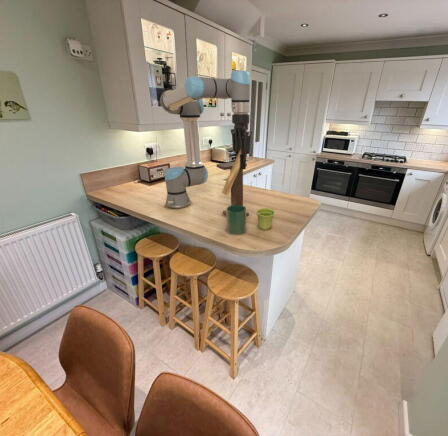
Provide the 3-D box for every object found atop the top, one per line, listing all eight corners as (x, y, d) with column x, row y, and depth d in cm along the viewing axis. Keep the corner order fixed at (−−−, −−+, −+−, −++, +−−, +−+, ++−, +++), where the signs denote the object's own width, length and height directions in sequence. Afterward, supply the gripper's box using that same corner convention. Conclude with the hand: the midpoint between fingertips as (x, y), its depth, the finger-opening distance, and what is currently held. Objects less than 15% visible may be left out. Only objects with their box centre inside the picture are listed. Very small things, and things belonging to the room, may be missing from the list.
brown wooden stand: (217, 214, 136) (215, 163, 123) (238, 209, 144) (237, 160, 131) (227, 221, 128) (225, 167, 115) (248, 215, 136) (249, 164, 123)
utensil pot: (223, 228, 121) (222, 207, 116) (239, 223, 126) (238, 203, 121) (233, 236, 114) (233, 214, 109) (249, 231, 119) (249, 209, 114)
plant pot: (272, 222, 127) (273, 208, 123) (275, 231, 119) (276, 215, 115) (255, 223, 127) (255, 208, 123) (256, 231, 118) (257, 216, 115)
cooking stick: (240, 148, 107) (244, 150, 108) (221, 192, 109) (225, 194, 111) (243, 149, 105) (247, 151, 106) (223, 193, 108) (227, 195, 109)
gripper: (223, 113, 103) (225, 166, 113) (243, 114, 91) (243, 173, 102) (238, 113, 107) (238, 164, 117) (258, 114, 95) (257, 170, 106)
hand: (241, 168), depth 109 cm, fingers closed on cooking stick, 2 cm apart
